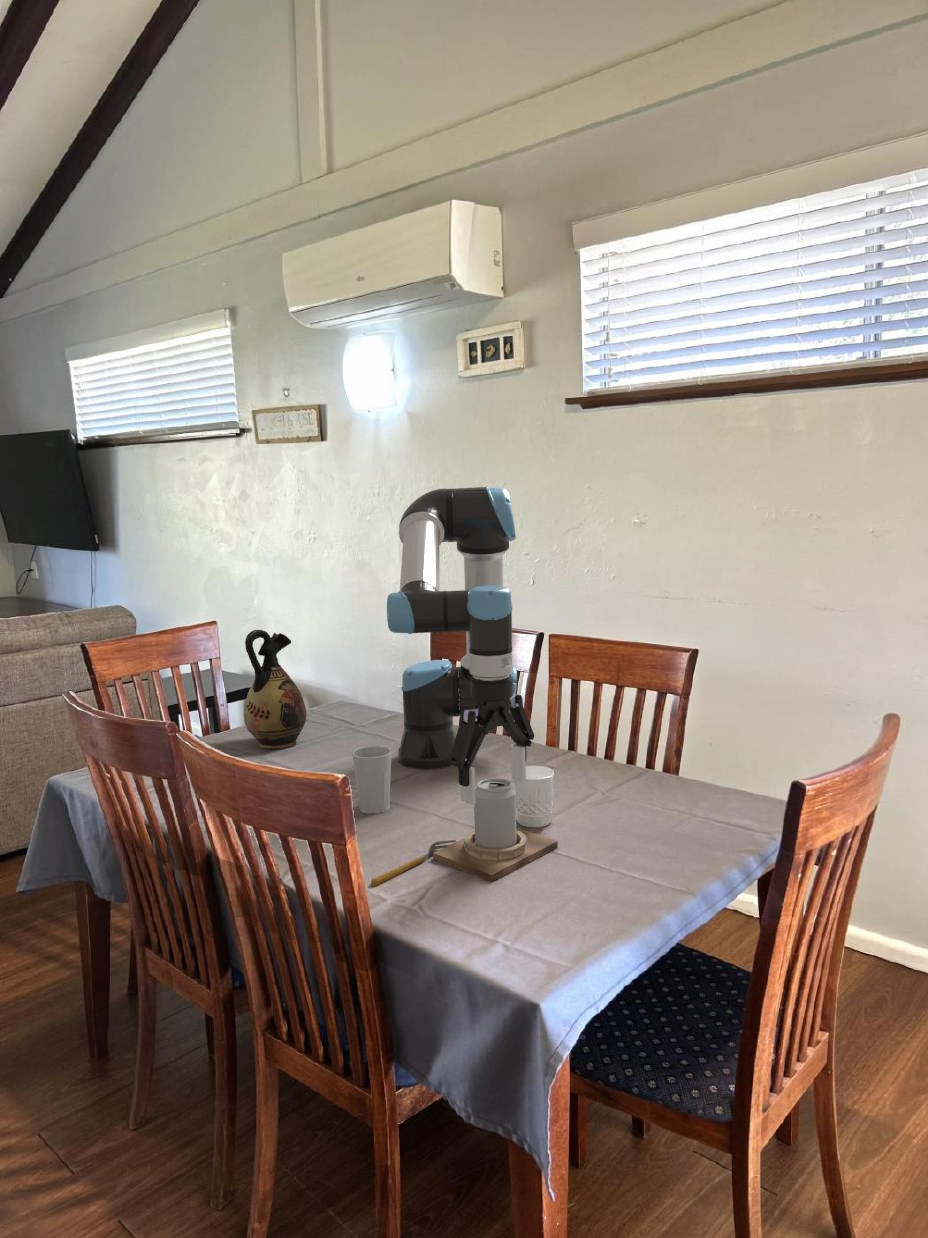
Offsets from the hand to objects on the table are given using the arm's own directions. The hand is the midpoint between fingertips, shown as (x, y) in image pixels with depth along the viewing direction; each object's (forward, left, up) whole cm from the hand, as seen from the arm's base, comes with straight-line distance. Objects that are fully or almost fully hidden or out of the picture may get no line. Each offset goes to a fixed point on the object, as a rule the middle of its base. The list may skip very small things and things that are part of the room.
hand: (494, 791), depth 165 cm
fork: (+13, -7, -12) cm, 19 cm away
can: (0, 0, -11) cm, 11 cm away
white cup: (-16, -4, -12) cm, 20 cm away
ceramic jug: (-14, -87, -12) cm, 89 cm away
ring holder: (0, 0, -12) cm, 12 cm away
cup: (-1, -34, -12) cm, 36 cm away
